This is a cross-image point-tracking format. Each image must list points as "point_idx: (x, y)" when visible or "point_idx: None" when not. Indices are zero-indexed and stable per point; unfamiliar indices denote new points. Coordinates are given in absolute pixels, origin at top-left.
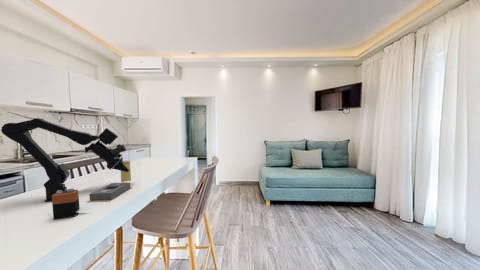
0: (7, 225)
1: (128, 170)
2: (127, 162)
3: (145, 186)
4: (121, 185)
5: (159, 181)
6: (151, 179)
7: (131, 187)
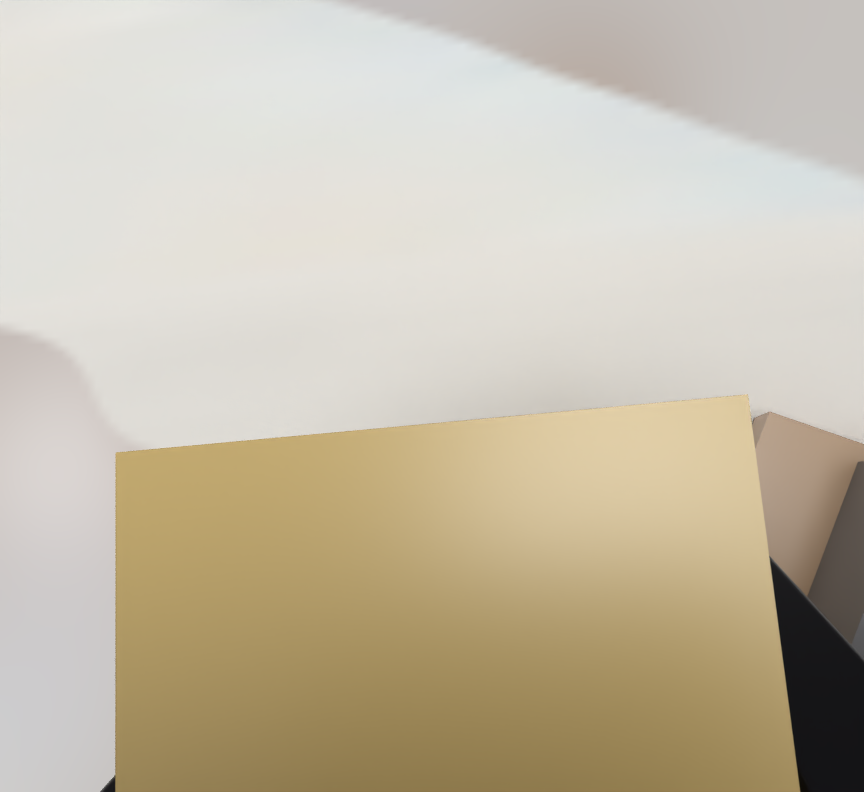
0: None
1: None
2: (758, 611)
3: (582, 215)
4: None
5: (341, 6)
6: (124, 166)
7: (781, 447)
